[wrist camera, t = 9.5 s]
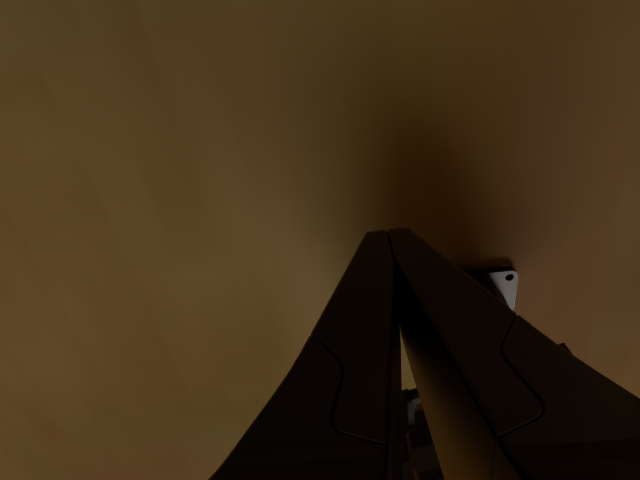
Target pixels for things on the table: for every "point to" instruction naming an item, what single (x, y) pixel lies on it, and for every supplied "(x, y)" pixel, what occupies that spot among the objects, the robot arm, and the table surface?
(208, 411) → the table surface
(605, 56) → the table surface
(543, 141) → the table surface
